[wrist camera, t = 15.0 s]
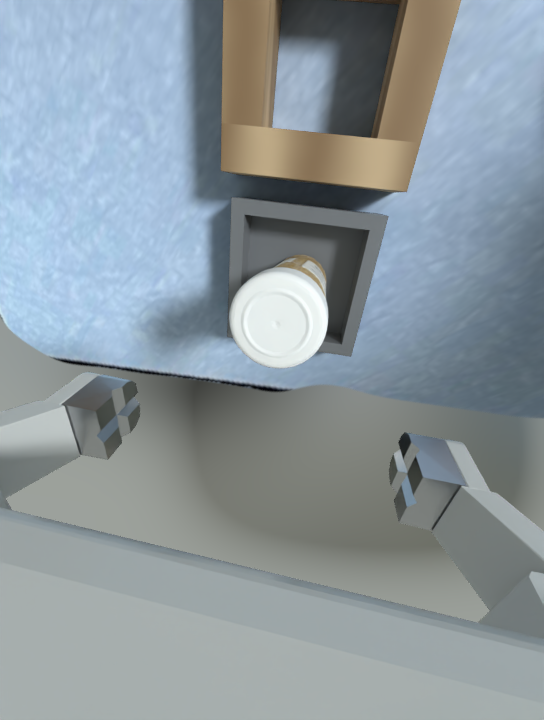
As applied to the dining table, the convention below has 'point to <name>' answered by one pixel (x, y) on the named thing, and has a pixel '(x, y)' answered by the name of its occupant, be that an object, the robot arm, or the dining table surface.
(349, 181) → the oak bore block
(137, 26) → the dining table surface
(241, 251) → the tray
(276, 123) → the dining table surface
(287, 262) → the sprinkles bottle
